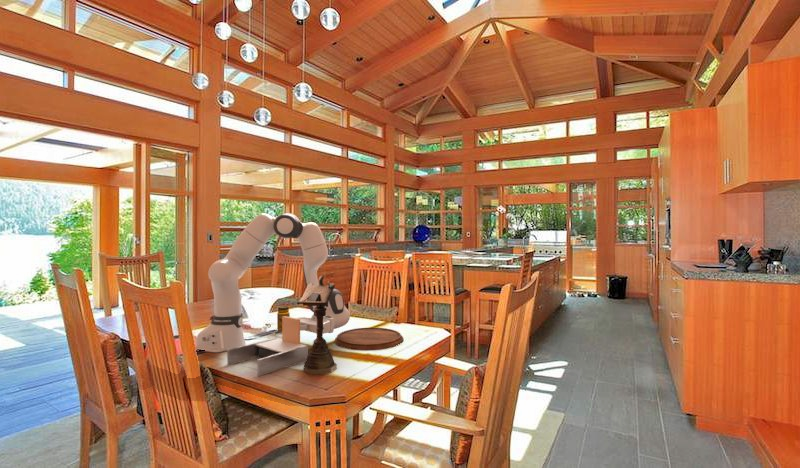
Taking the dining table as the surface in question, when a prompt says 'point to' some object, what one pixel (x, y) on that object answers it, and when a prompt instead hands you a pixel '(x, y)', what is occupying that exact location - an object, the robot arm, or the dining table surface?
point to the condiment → (281, 312)
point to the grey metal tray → (267, 357)
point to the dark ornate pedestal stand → (318, 328)
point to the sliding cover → (285, 336)
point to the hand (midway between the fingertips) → (294, 328)
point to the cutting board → (368, 338)
